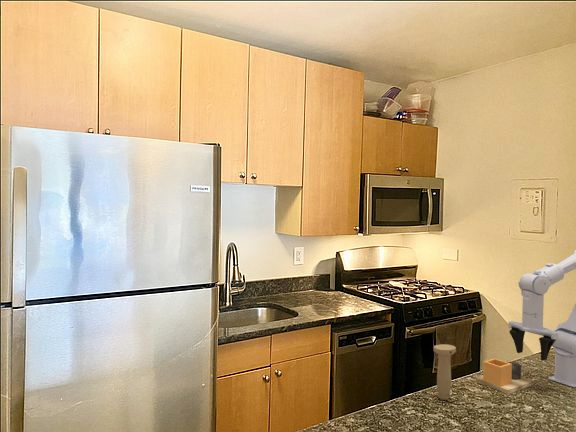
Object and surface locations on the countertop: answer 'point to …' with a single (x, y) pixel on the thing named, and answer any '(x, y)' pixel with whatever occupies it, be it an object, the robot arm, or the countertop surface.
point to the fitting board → (515, 385)
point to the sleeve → (497, 372)
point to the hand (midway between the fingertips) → (531, 356)
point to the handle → (444, 369)
